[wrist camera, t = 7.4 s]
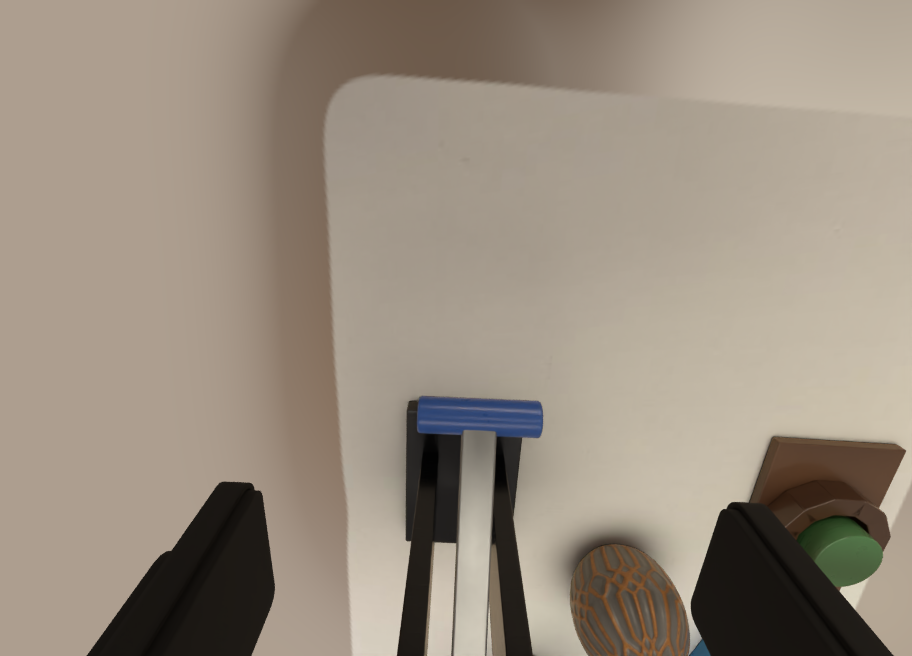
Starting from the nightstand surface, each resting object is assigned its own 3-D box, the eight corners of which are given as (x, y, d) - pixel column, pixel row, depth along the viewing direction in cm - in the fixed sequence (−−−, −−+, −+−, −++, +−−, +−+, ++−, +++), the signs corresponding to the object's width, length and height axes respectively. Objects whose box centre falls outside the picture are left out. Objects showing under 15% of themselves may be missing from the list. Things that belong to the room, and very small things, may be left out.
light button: (806, 512, 29) (826, 534, 27) (869, 516, 29) (894, 538, 27) (785, 562, 30) (804, 585, 29) (846, 565, 30) (868, 589, 29)
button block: (772, 436, 29) (799, 460, 27) (897, 444, 30) (935, 469, 27) (721, 578, 34) (741, 610, 31) (831, 584, 34) (859, 617, 31)
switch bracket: (408, 400, 29) (337, 741, 12) (522, 405, 29) (606, 751, 12) (407, 528, 32) (350, 928, 16) (508, 532, 32) (560, 935, 16)
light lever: (421, 390, 17) (416, 402, 14) (534, 395, 17) (548, 408, 14) (404, 778, 17) (396, 855, 14) (516, 783, 17) (526, 860, 14)
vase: (554, 536, 32) (586, 666, 24) (655, 519, 32) (723, 647, 24) (568, 607, 35) (601, 747, 27) (662, 593, 34) (726, 732, 26)
